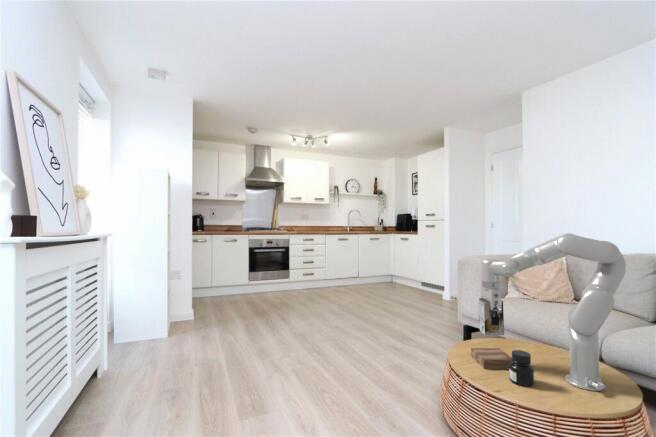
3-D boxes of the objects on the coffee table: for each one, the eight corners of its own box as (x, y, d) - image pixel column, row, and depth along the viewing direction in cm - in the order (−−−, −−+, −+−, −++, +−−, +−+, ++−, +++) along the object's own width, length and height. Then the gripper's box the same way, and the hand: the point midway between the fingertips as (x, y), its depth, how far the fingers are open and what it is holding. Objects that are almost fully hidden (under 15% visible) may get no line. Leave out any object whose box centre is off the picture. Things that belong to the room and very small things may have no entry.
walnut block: (515, 368, 144) (515, 360, 144) (484, 368, 144) (484, 359, 145) (499, 356, 158) (499, 348, 158) (471, 356, 158) (471, 348, 159)
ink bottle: (510, 374, 139) (510, 347, 139) (534, 380, 134) (533, 351, 134) (508, 383, 131) (507, 354, 131) (533, 390, 126) (533, 359, 126)
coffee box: (498, 331, 154) (497, 297, 155) (504, 335, 148) (503, 301, 148) (479, 330, 155) (478, 297, 156) (484, 335, 149) (483, 300, 149)
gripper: (508, 288, 143) (509, 328, 143) (490, 281, 161) (490, 317, 160) (491, 288, 144) (492, 328, 143) (475, 281, 161) (475, 317, 160)
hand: (491, 322), depth 152 cm, fingers closed on coffee box, 6 cm apart
